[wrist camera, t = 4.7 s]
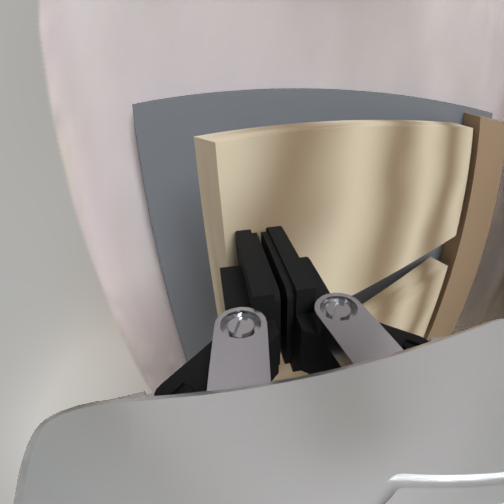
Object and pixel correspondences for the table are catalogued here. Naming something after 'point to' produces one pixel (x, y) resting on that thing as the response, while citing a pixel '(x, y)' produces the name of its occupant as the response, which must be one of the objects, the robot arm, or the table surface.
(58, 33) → the table surface
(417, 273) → the oak plank
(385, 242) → the oak plank
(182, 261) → the floor board
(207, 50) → the table surface
